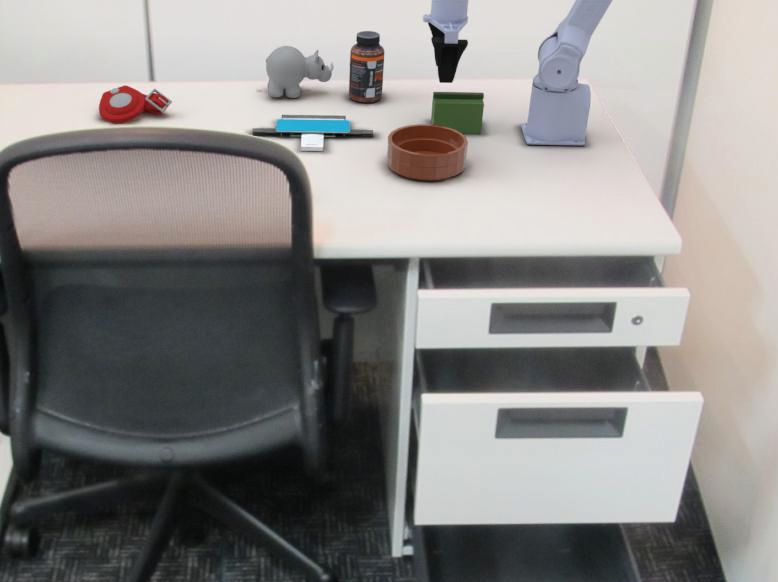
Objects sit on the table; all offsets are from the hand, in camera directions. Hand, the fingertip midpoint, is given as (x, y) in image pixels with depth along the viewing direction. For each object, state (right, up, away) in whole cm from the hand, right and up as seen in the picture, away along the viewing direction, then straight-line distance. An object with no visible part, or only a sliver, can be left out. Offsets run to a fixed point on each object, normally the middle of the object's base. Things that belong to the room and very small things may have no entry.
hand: (444, 73), depth 182 cm
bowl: (-4, -17, -7) cm, 18 cm away
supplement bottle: (-12, +1, +17) cm, 21 cm away
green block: (+3, -7, +6) cm, 10 cm away
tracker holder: (-52, -4, +10) cm, 53 cm away
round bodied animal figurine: (-24, +2, +18) cm, 30 cm away
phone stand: (-21, -10, +3) cm, 24 cm away
